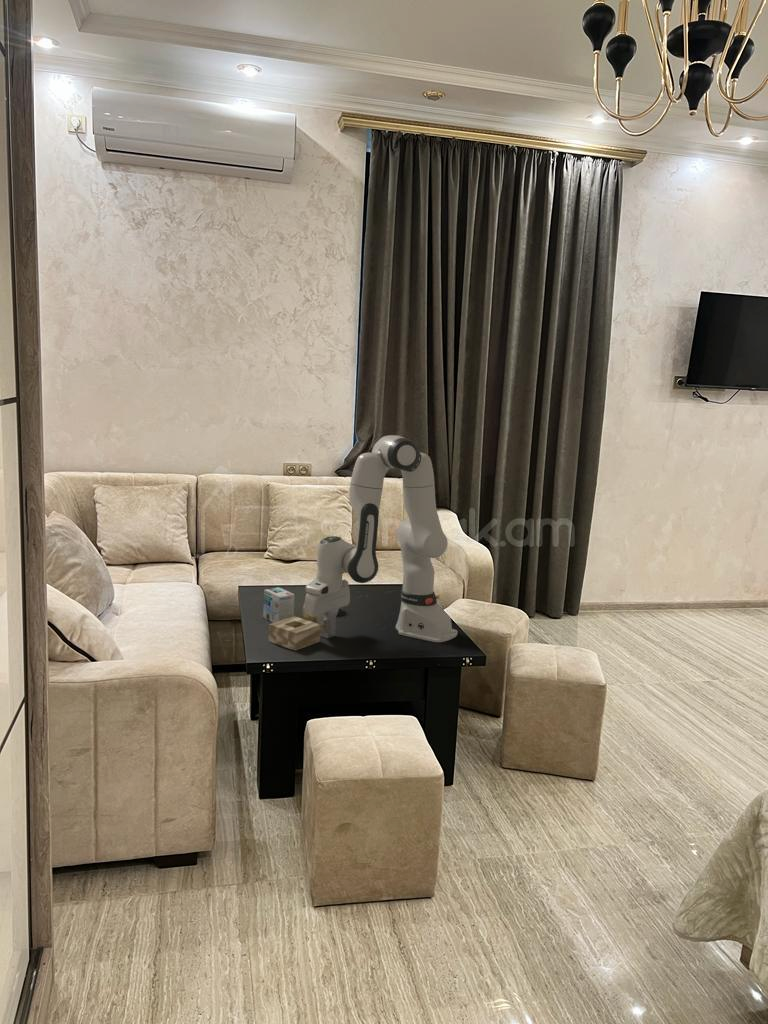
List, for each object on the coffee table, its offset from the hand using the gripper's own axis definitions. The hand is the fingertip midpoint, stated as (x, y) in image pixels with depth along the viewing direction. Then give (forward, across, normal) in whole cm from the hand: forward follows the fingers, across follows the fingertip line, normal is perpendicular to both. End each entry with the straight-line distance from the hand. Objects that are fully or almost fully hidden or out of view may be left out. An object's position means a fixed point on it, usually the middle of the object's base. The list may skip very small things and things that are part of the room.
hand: (327, 622), depth 260 cm
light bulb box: (+5, 0, -23) cm, 24 cm away
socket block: (+5, +12, -4) cm, 13 cm away
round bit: (+5, -3, -10) cm, 11 cm away
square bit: (+5, 0, 0) cm, 5 cm away
